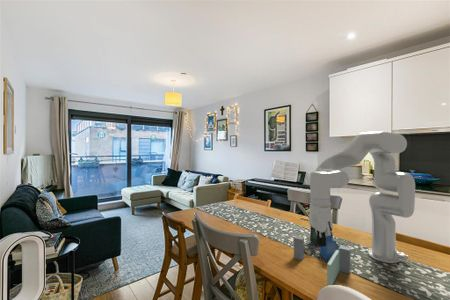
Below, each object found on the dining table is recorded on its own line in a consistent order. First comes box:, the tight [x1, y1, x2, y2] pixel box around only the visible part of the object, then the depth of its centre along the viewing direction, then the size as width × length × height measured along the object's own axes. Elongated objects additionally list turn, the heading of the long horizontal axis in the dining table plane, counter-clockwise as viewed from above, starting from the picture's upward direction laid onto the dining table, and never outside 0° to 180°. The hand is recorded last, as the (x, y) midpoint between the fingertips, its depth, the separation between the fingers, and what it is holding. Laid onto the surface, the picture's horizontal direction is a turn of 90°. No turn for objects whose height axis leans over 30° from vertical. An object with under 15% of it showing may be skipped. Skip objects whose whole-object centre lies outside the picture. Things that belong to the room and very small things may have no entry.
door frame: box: [293, 235, 352, 274], centre depth 102 cm, size 24×3×10 cm, turn 55°
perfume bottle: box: [319, 231, 340, 261], centre depth 109 cm, size 6×6×12 cm
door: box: [326, 250, 340, 287], centre depth 90 cm, size 15×1×9 cm, turn 141°
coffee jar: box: [309, 226, 318, 246], centre depth 125 cm, size 10×8×19 cm
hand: (321, 245), depth 90 cm, fingers closed
